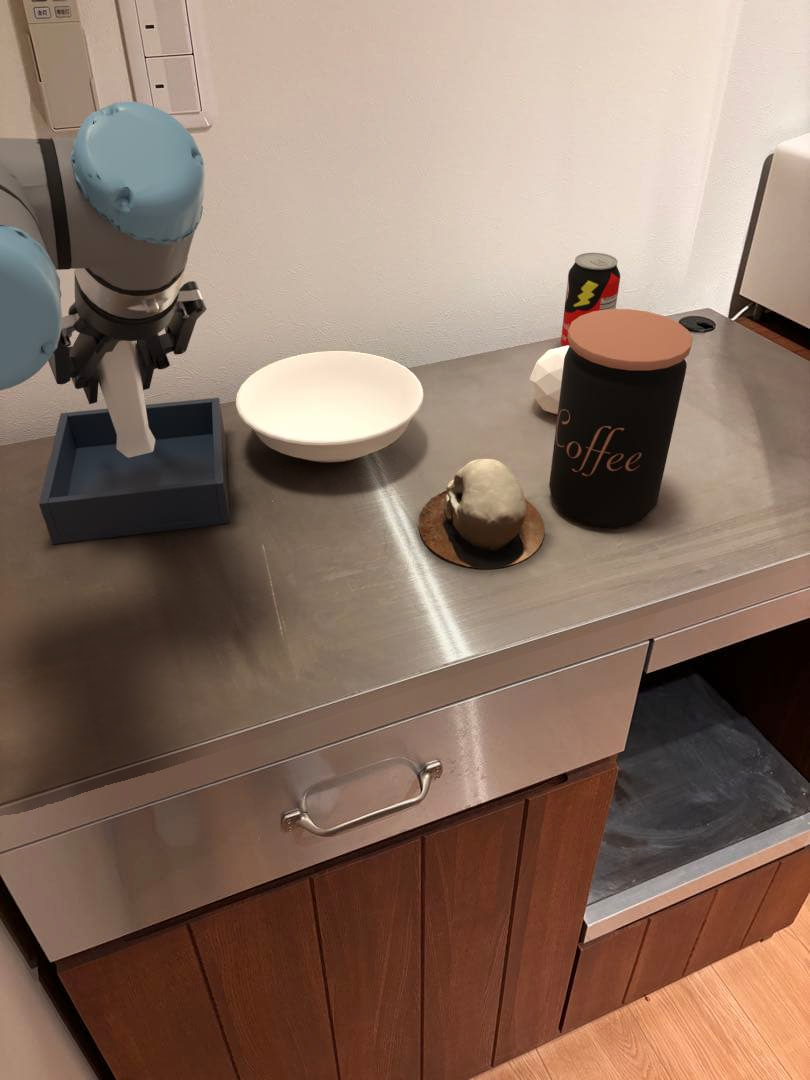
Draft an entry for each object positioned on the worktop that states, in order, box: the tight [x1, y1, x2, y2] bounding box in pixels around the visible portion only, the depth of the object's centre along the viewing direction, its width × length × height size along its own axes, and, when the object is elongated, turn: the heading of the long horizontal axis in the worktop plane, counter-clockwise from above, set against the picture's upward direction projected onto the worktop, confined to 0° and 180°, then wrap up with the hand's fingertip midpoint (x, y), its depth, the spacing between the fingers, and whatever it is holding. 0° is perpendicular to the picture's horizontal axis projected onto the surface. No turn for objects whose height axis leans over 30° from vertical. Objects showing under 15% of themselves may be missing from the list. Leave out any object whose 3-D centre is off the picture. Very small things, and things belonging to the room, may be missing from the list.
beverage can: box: [560, 252, 621, 347], centre depth 108 cm, size 6×6×12 cm
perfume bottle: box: [96, 340, 155, 458], centre depth 81 cm, size 5×4×15 cm
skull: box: [417, 458, 546, 570], centre depth 81 cm, size 12×10×10 cm
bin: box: [38, 397, 231, 545], centre depth 87 cm, size 17×17×5 cm
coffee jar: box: [548, 308, 693, 530], centre depth 80 cm, size 11×11×18 cm
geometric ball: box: [528, 346, 569, 415], centre depth 97 cm, size 8×8×8 cm
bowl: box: [235, 350, 425, 463], centre depth 92 cm, size 20×20×6 cm
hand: (114, 383), depth 84 cm, fingers closed on perfume bottle, 5 cm apart
